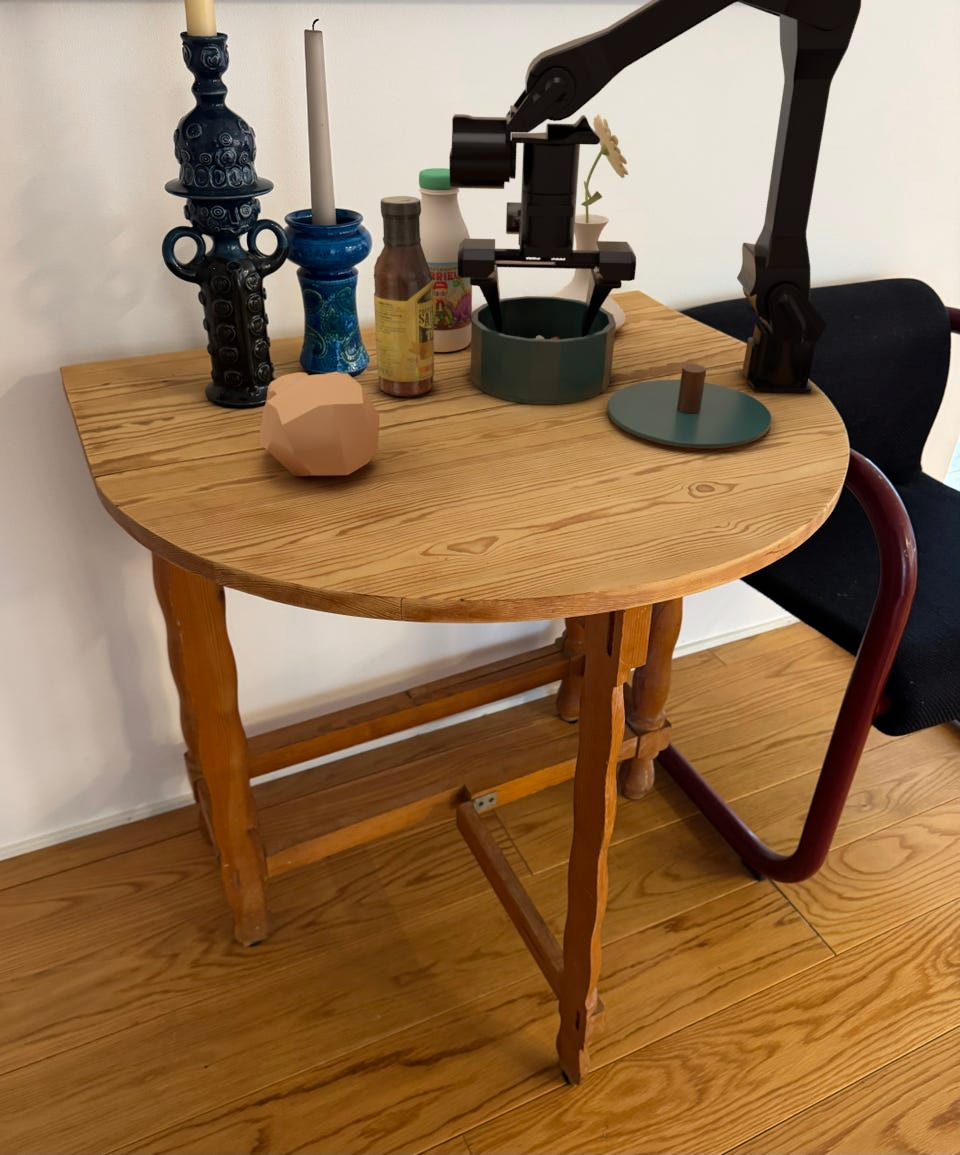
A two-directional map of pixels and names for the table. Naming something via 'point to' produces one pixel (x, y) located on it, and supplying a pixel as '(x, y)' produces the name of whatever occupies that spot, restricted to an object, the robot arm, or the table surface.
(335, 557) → the table surface
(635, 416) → the lid
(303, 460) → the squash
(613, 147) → the flower in vase
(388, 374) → the sauce bottle
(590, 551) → the table surface
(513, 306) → the pot
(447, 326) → the milk bottle
